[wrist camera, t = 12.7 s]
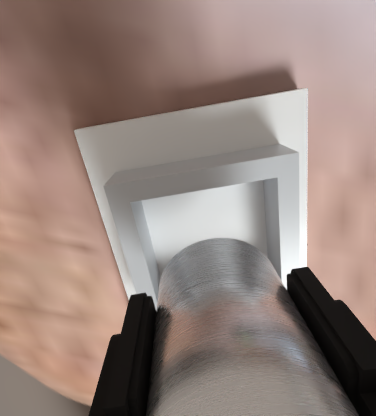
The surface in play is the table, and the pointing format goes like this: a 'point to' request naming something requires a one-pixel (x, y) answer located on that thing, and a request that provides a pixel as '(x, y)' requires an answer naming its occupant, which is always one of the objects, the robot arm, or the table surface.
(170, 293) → the cylinder
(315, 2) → the table surface
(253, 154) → the white square tray
